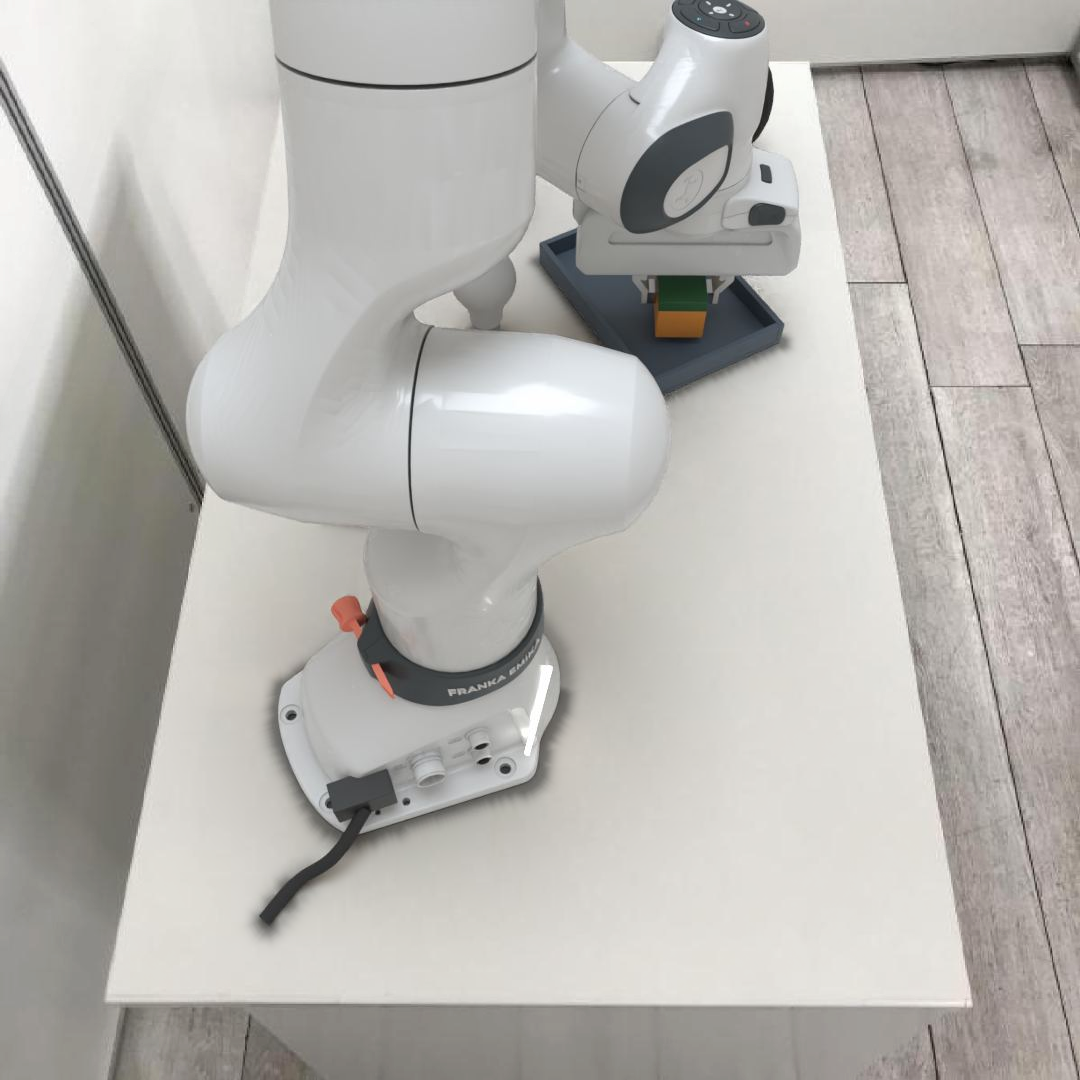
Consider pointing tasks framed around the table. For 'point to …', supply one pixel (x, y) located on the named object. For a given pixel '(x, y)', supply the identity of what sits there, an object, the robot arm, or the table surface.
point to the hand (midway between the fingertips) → (679, 299)
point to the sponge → (680, 305)
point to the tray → (630, 324)
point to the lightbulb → (488, 296)
